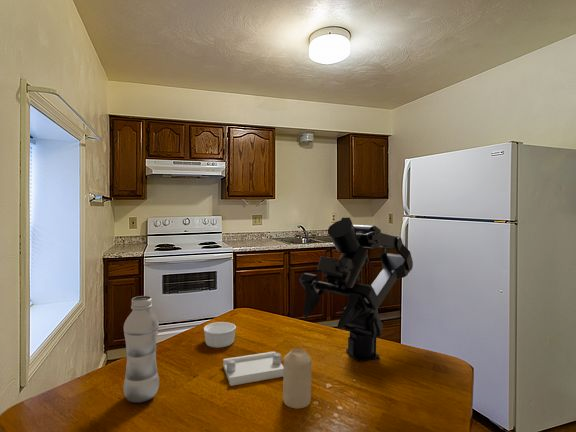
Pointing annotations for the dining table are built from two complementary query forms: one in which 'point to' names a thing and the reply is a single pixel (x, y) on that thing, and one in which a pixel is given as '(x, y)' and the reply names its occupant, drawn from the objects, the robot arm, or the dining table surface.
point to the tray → (253, 368)
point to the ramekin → (219, 334)
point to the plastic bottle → (141, 351)
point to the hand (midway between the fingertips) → (320, 322)
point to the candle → (297, 379)
